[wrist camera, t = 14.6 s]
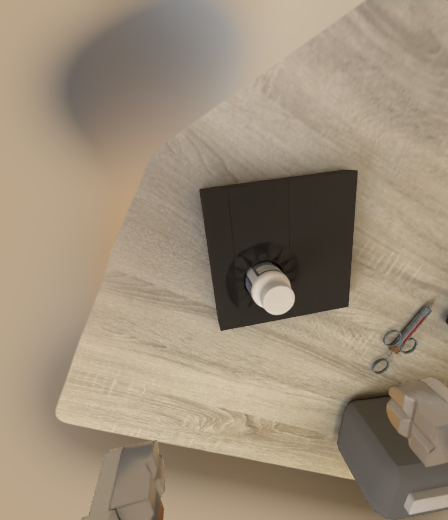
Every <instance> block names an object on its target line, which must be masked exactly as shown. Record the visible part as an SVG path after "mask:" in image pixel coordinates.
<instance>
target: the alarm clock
mask: <svg viewBox="0 0 448 520" xmlns="http://www.w3.org/2000/svg"><path fill="white" fill-rule="evenodd" d="M390 399H391V397H390V396H389V397H381V398H373V399H365V400H357V401H353V402H350V403H349V404H348V405H347V407H346V409H345V412H344V416H343V420H342V424H341V428H340V432H339V436H338V440H337V445H338V448H339V451H340V453H341V455H342V456H343V458H344V460H345V462H346V464H347V465H348V467H349V469H350V471H351V473H352V475H353V476H354V478H355V480H356V482H357V483H358V485H359V487H360V489H361V491H362V493H363V495H364V496H365V498H366V500H367V502H368V503H369V504H370V506H371V507H372V508H373V510H374V511H375V512H376V513H378V514H380V515H381V516H382V517H384V518H385V519H390V520H398V519H404V518H408V517H414V516H418V515H423V514H428V513H433V512H438V511H443V510H448V463H444V464H439V465H435V466H430V467H425V466H424V464H423V463H422V462H421V461H420V459H419V458H418V457H417V456H416V454H415V453H414V452H413V451H412V449H411V448H410V447H409V443H408V438H406V437H404V436H402V435H401V434H399V433H398V432H397V431H396V429H395V428H394V427H393V425H392V424H391V422H390V420H389V418H388V415H387V412H386V407H387V403H388V401H389V400H390Z"/></svg>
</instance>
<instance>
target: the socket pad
mask: <svg viewBox="0 0 448 520" xmlns="http://www.w3.org/2000/svg"><path fill="white" fill-rule="evenodd" d="M357 173H358V171H357V170H339V171H332V172H324V173H317V174H309V175H302V176H294V177H287V178H280V179H272V180H264V181H257V182H249V183H242V184H234V185H227V186H219V187H212V188H204V189H200V197H201V204H202V211H203V218H204V225H205V232H206V239H207V246H208V253H209V260H210V267H211V274H212V281H213V288H214V295H215V302H216V309H217V316H218V322H219V326H220V330H221V331H223V330H228V329H233V328H238V327H244V326H249V325H255V324H260V323H265V322H270V321H276V320H281V319H286V318H291V317H296V316H301V315H307V314H312V313H317V312H322V311H328V310H333V309H338V308H343V307H348V305H349V290H350V276H351V261H352V246H353V232H354V217H355V202H356V188H357ZM264 260H270V261H274V262H276V264H277V267H278V268H279V269H280V270H281V271H282V272H283V273H284V274H285V275H286V277H287V278H288V279H289V281H290V285H291V289H292V291H293V292H294V295H295V301H294V304H293V306H292V307H291V309H290V310H289V311H287V312H286V313H284V314H281V315H272V314H270V313H268V312H267V311H266V310H265V309H264V308H262V307H260V306H259V305H257V304H256V303H255V301H254V300H253V298H252V297H251V295H250V293H249V291H248V289H247V288H246V286H245V285H244V276H245V273H246V272H247V270H248V269H249V268H250V267H251V266H252V265H253V264H255V263H257V262H259V261H264Z"/></svg>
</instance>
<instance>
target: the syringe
mask: <svg viewBox="0 0 448 520" xmlns="http://www.w3.org/2000/svg"><path fill="white" fill-rule="evenodd" d="M436 299H437V298H436ZM436 299H435V300H436ZM435 300H434V301H435ZM432 305H433V302H432V303H431V304H429V305H428V306H427V307H425V306H424V307H423V308H422V309H421V311H420V312H419V313H418V314H417V315H416V317H415V318H414V319H413V320H412V321H411V323H410V324H409V325H408V326H407V328H406V329H405V330H404V331H403V332H402V334H401V333H400V332H399V331H397V330H391V331H389V332H387V333H386V334H385V335H384V338H383V342H384V344H385V345H387V346H389V349H390V350H391V351H392V352H391V353H390V354H389V355H388V357H389V356H390V355H391V354H392V353H393V352H394V353H396V354H398V353H399V352H400V351H401V352H402V353H404V354H408V353H411V352H413V351H414V350H415V349H416V347H417V344H418V343H417V341H416V340H415V339H414V338H410V337H411V336H412V335H413V333H414V332H415V331H416V330H417V329H418V327H419V326H420V325H421V324H422V323H423V321H424V320H425V319H426V318H427V316H428V315H429V314H430V313H431V311H432V310H431V309H430V308H431V307H432ZM393 332H398V333H399V337H398V339H397V340H395V341H394V342H393V343H392V344H386V338H387V336H388V335H389V334H391V333H393ZM409 340H414V341H415V344H414V346H413V348H412V349H411V350H409V351H406V352H403V351H402V347H403V346H404V344H405V343H406V342H407V341H409ZM388 357H387V358H386V359H384V358H381V359H378V360H376V361H375V362H374V363H373V364H372V371H373V372H374V373H376V374H381V373H384V372H385V371H387V369H388V368H389V362H388V361H387V359H388ZM380 361H387V365H386V367H385V368H384V369H383V370H382V371H379V372H376V371H374V367H375V365H376V364H377V363H378V362H380Z"/></svg>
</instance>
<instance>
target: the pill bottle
mask: <svg viewBox="0 0 448 520" xmlns="http://www.w3.org/2000/svg"><path fill="white" fill-rule="evenodd" d="M244 284H245V286H246V288H247V289H248V291H249V293H250V295H251V297H252V298H253V300H254V301H255V303H256V304H257V305H259V306H260V307H262V308H264V309H265V310H266V311H267V312H268V313H270V314H272V315H281V314H284V313H286V312H287V311H289V310H290V309H291V307H292V306H293V304H294V301H295V295H294V292H293V291H292V289H291V285H290V281H289V279H288V278H287V277H286V275H285V274H284V273H283V272H282V271H281V270H280V269H279V268H278V267H277V266H276V265H275V264H274V263H273V262H272V261H270V260H264V261H259V262H257V263H255V264H253V265H252V266H251V267H250V268H249V269H248V270H247V272H246V273H245V276H244Z"/></svg>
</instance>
